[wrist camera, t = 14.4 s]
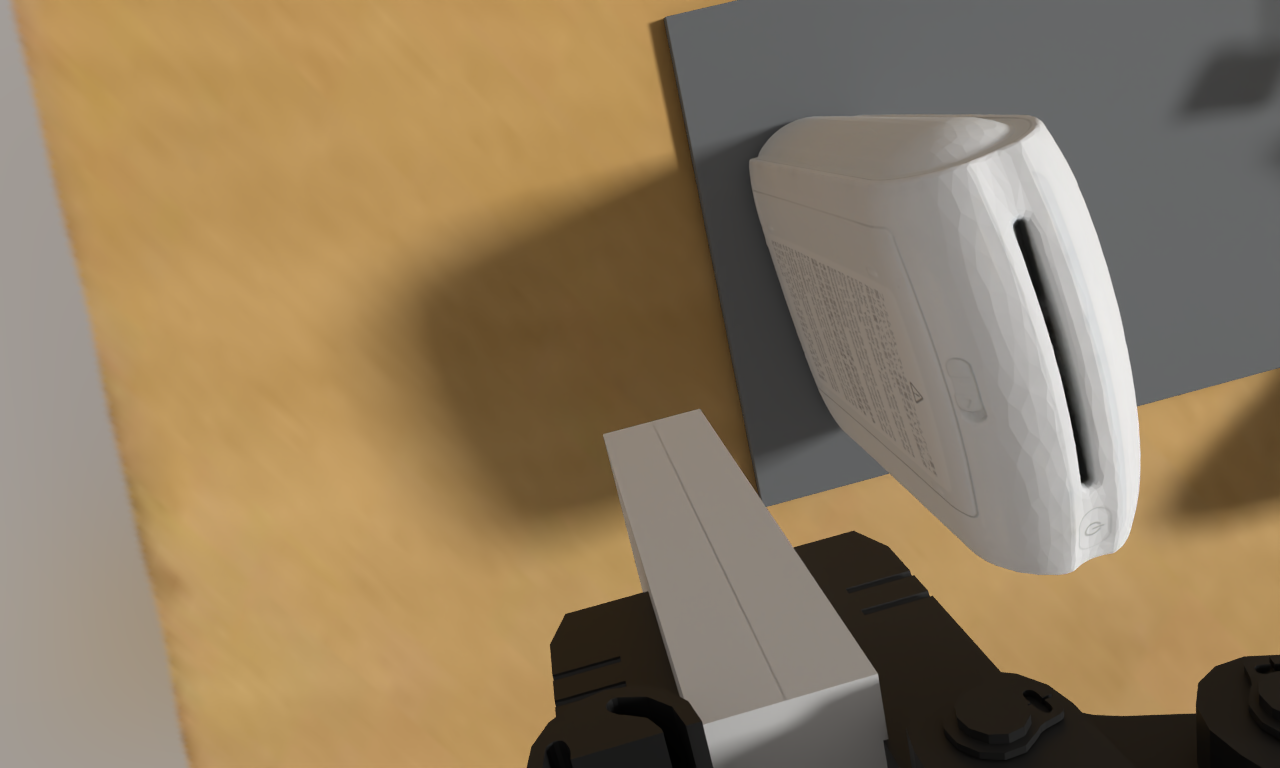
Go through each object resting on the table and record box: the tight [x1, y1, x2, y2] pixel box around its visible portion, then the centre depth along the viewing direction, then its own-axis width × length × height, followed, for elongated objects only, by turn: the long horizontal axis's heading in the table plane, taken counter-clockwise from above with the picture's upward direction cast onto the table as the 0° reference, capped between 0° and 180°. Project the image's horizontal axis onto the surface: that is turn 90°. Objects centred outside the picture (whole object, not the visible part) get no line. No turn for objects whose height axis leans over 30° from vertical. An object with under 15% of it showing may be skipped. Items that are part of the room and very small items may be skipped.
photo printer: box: [749, 114, 1141, 575], centre depth 22 cm, size 10×4×12 cm, turn 22°
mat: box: [664, 0, 1280, 507], centre depth 28 cm, size 20×16×1 cm
